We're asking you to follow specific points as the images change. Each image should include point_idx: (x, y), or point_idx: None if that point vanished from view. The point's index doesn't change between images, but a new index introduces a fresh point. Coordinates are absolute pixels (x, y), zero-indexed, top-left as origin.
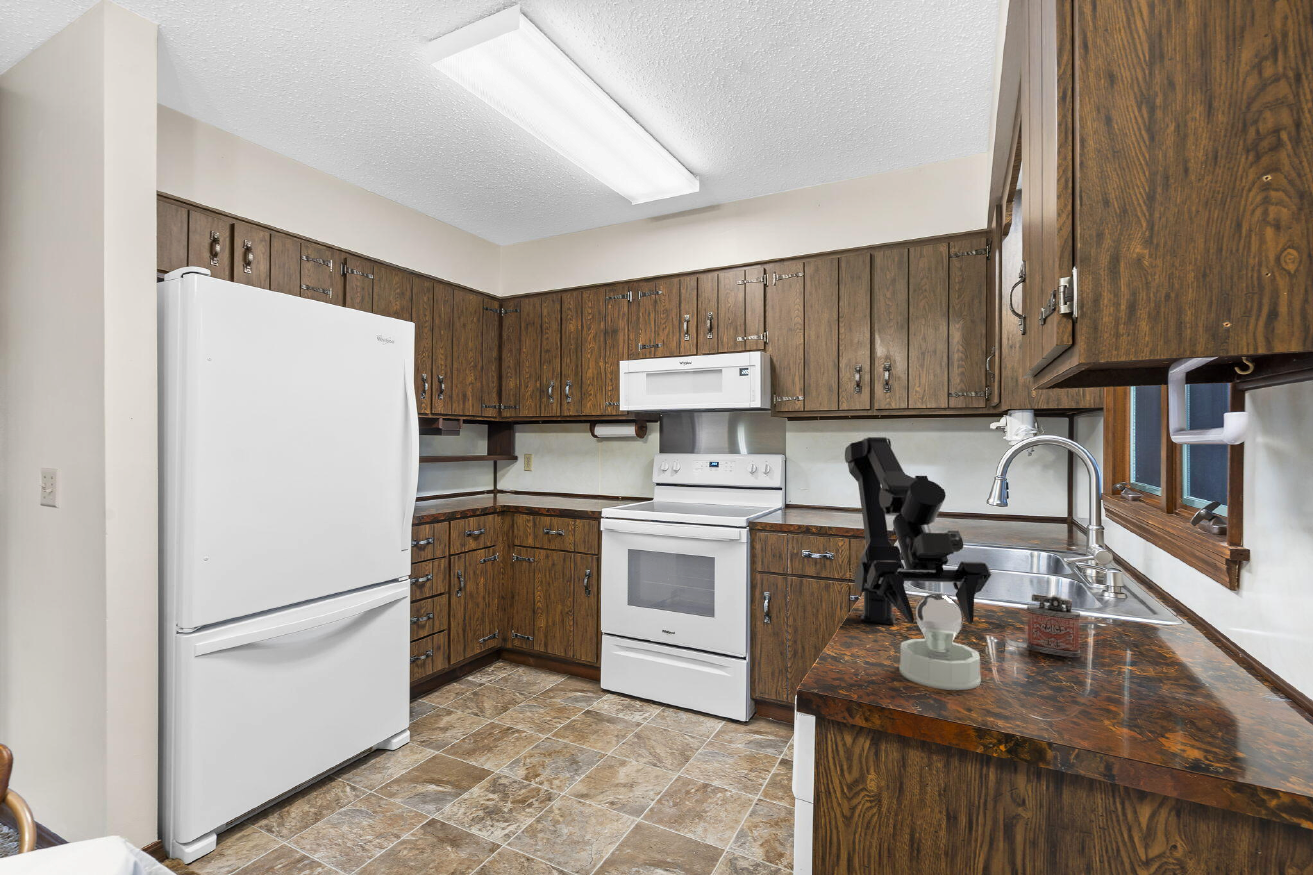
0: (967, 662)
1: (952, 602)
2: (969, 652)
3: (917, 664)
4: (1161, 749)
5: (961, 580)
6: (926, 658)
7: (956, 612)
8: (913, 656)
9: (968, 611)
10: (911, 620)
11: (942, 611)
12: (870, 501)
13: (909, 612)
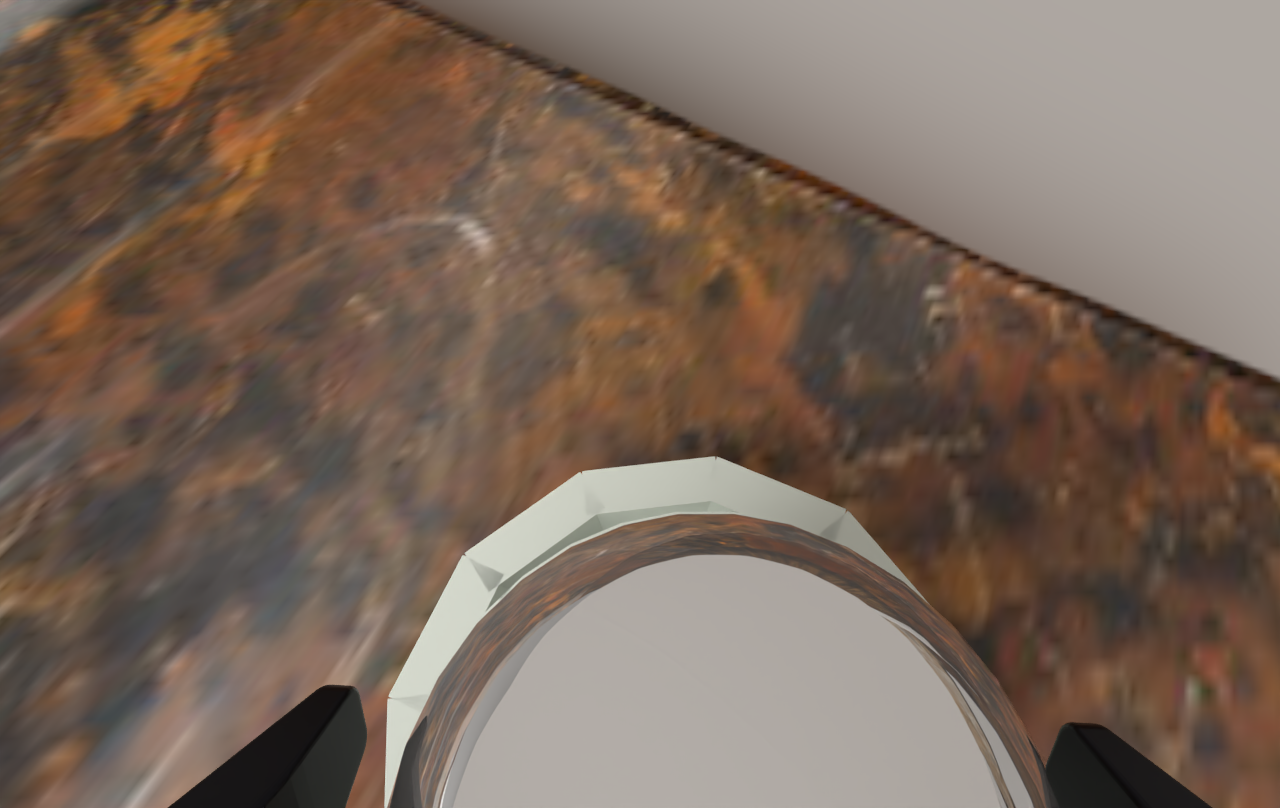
0: (597, 474)
1: (582, 640)
2: None
3: None
4: (244, 47)
5: None
6: (852, 549)
7: (583, 543)
8: None
9: (280, 785)
10: (1095, 728)
11: (791, 533)
12: None
13: (1187, 805)
